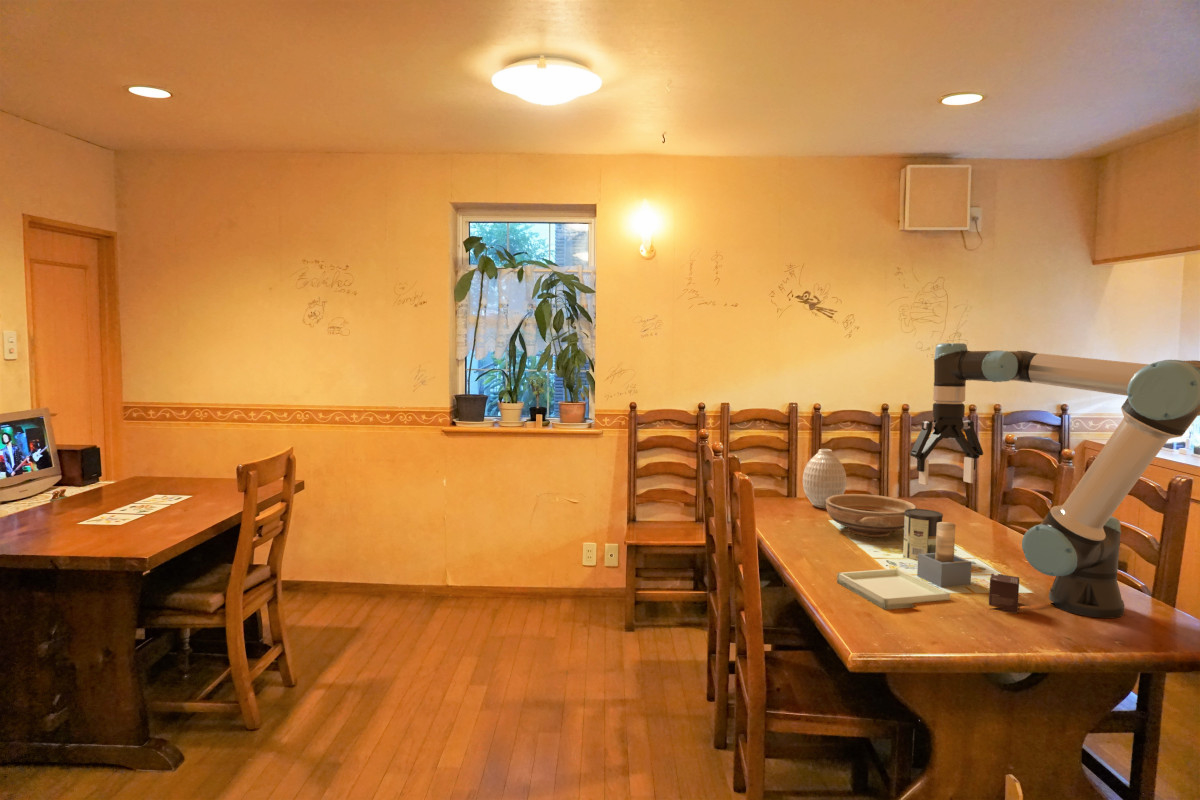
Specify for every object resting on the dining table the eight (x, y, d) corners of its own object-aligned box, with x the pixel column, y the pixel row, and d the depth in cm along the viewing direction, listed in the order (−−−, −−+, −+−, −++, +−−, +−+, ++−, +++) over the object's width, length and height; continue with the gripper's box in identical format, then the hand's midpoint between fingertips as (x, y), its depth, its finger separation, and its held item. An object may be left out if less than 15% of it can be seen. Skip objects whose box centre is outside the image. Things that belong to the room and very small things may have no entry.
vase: (804, 510, 274) (806, 451, 272) (799, 501, 290) (801, 446, 288) (848, 512, 271) (851, 453, 270) (841, 502, 287) (843, 447, 286)
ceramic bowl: (923, 551, 221) (924, 518, 220) (825, 542, 229) (826, 511, 228) (908, 522, 256) (909, 494, 255) (823, 516, 264) (824, 489, 264)
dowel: (956, 582, 188) (959, 525, 187) (942, 583, 187) (944, 526, 186) (944, 576, 193) (947, 521, 192) (930, 578, 192) (933, 522, 190)
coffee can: (935, 556, 216) (937, 509, 215) (944, 566, 206) (947, 517, 204) (898, 553, 218) (901, 507, 217) (906, 563, 208) (908, 515, 207)
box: (1017, 614, 169) (1018, 583, 168) (988, 609, 172) (989, 579, 172) (1018, 606, 174) (1019, 576, 174) (989, 601, 177) (991, 572, 177)
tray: (949, 603, 175) (949, 593, 175) (884, 609, 171) (885, 598, 171) (896, 577, 195) (896, 568, 194) (837, 582, 190) (837, 572, 190)
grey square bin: (970, 588, 187) (971, 561, 186) (940, 590, 185) (941, 564, 184) (945, 577, 196) (946, 551, 195) (917, 579, 193) (918, 553, 193)
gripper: (979, 401, 195) (976, 479, 196) (897, 402, 189) (895, 482, 191) (1000, 402, 188) (997, 483, 189) (916, 404, 182) (913, 487, 183)
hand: (945, 483), depth 190 cm, fingers open, 13 cm apart
